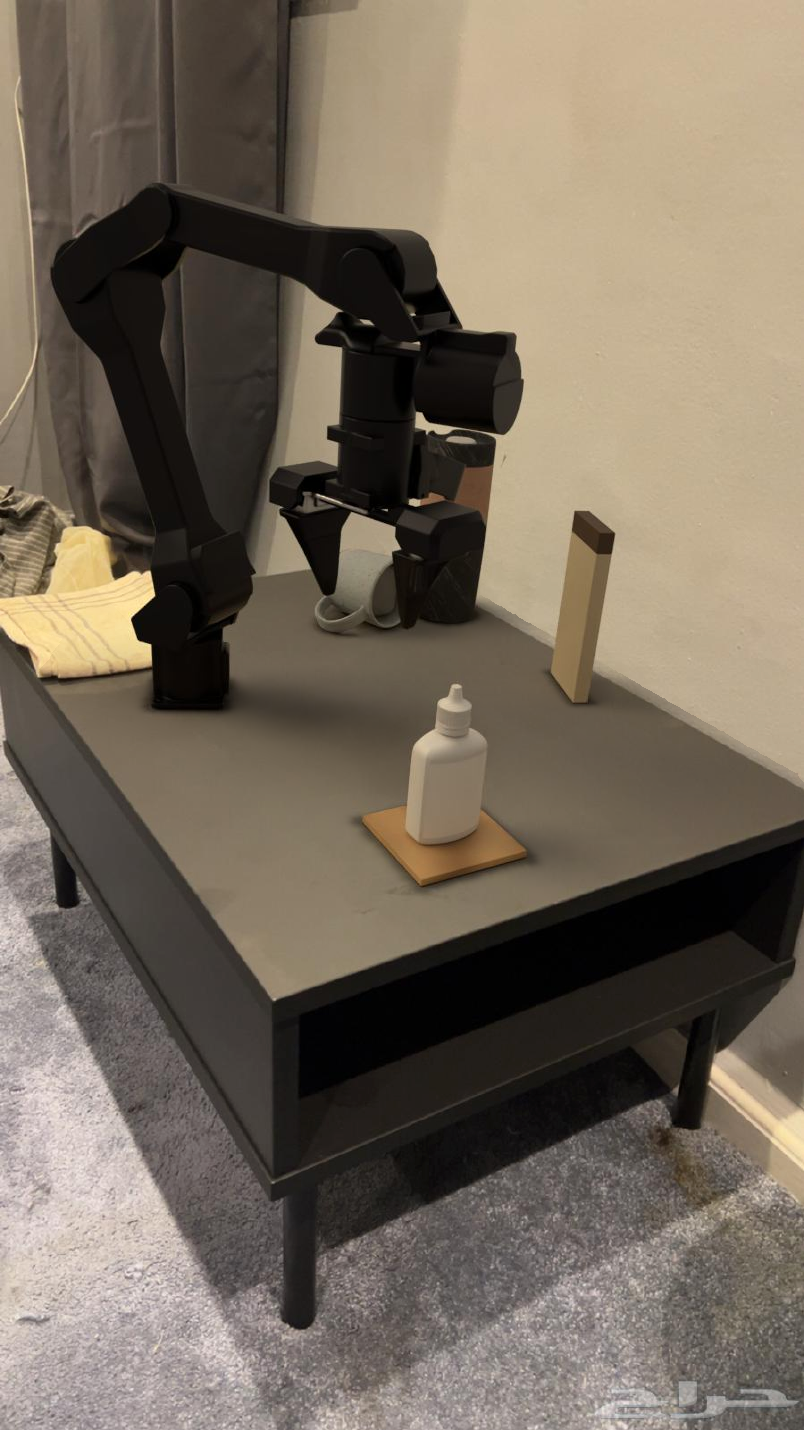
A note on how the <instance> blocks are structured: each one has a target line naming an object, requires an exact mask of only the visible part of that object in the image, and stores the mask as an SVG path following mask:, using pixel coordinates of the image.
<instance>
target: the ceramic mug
mask: <svg viewBox="0 0 804 1430" xmlns="http://www.w3.org/2000/svg"><path fill="white" fill-rule="evenodd" d="M331 606H333V607H334V608H335V609H337V610H338V611H341V612H342V613H345V614H348V615H347V616H344V617H343V618H339V619H333V620H332V619H331V620H329V619H326V618H325V617H324V616H323V615H324V614H325V612H326V611H327V610H328V609H329V608H330V607H331ZM314 615H315V618H316V621H317V623H318V626H319V627H321V629H323V630H325V631H327V632H331V633H342V632H346V631H349V630H352V629H354V628H356V627H358V626H359V625H360V624H362V623H363V622H366V623H368V624H371V625H373V626H375V627H378V628H382V629H390V628H393V627H395V626H397V625H399V624H401V622H400V617H399V612H398V604H397V595H396V586H395V577H394V569H393V560H392V555H388V554H383V553H378V552H375V551H370V550H366V549H363V548H347V549H344V550H340V556H339V569H338V579H337V584H336V590H335V593H334V594H332V595H329V596H325V595H323V597H322V598H320V599H319V601H318V602H317V603H316V605H315V607H314Z"/></svg>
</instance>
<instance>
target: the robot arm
mask: <svg viewBox="0 0 804 1430" xmlns="http://www.w3.org/2000/svg"><path fill="white" fill-rule="evenodd" d="M189 249H193V250H196V251H200V252H203V253H207V254H209V255H213V256H216V257H219V258H223V259H225V260H229V261H233V262H236V263H240V264H243V265H247V266H250V267H253V268H256V269H258V270H259V269H260V270H263V271H266V272H270V273H273V274H277V275H279V276H283V277H286V278H290V279H292V280H294V281H296V282H297V283H299V284H300V285H303V286H304V287H306V288H307V289H308V290H309V291H310V292H311V293H313V294H314V295H315V296H316V297H317V298H318V299H319V300H321V301H323V302H325V303H326V304H328V305H330V306H332V307H334V308H336V309H337V310H339V311H338V312H336V313H335V315H334V317H333V319H332V320H331V321H330V322H329V323H328V324H327V325H326V326H325V327H323V328H322V329H321V330H320V331H318V332H317V333H316V334H315V336H314V342H315V344H317V345H321V346H327V347H332V348H333V347H334V348H339V349H340V348H341V360H340V361H341V363H340V364H341V365H340V368H341V369H340V391H339V412H338V413H339V414H338V418H339V419H338V424H331V425H326V441H327V440H328V441H331V442H334V443H337V464H336V465H334V464H331V463H327V462H325V461H321V460H314V461H307V462H302V463H296V464H290V465H283V466H278V467H277V468H276V469H275V471H274V472H273V474H272V475H271V476H270V478H269V480H268V486H269V487H268V503H270V504H274V505H276V506H278V507H280V508H279V509H278V512H279V516H280V517H282V518H284V519H285V521H286V523H287V524H288V526H289V528H290V530H291V532H292V534H293V536H294V538H295V539H296V541H297V543H298V545H299V547H300V549H301V551H302V553H303V556H304V557H305V560H306V561H307V563H308V565H309V568H310V570H311V572H312V575H313V576H314V579H315V581H316V583H317V586H318V588H319V589H320V592H321V593H322V595H323V596H329V595H332V594H334V593H335V590H336V584H337V579H338V569H339V556H340V552H341V543H342V531H343V527H344V526H345V524H346V522H347V520H348V519H349V517H350V515H351V513H354V514H356V515H359V516H362V517H364V518H368V519H371V520H373V521H377V522H379V523H382V524H385V525H388V526H391V527H394V530H395V531H394V538H395V541H396V542H397V544H398V546H399V548H400V549H396V550H392V551H391V556H392V560H393V569H394V577H395V586H396V595H397V604H398V612H399V617H400V625H401V629H404V630H406V631H407V630H410V629H413V628H415V626H416V625H417V622H418V620H419V617H420V616H419V615H420V613H421V611H422V609H423V607H424V605H425V603H426V600H427V598H428V596H429V594H430V592H431V590H432V588H433V586H434V584H435V582H436V580H437V578H438V577H439V575H440V573H441V572H442V570H443V569H444V567H445V566H446V565H447V564H448V563H449V562H450V561H451V560H452V559H455V558H459V557H462V556H465V555H467V554H468V552H470V551H474V550H477V549H481V548H484V549H485V546H484V545H485V543H486V538H485V535H486V536H487V529H486V520H485V519H484V517H483V516H482V514H481V513H480V511H479V510H476V509H472V508H469V507H466V506H463V505H459V504H456V503H453V502H455V499H456V496H457V493H458V489H459V486H460V483H461V480H462V477H463V474H464V470H465V467H466V464H464V463H461V462H459V461H456V460H453V459H451V458H448V457H446V456H443V455H440V454H438V453H435V452H432V451H429V450H428V436H427V434H428V433H427V430H426V429H422V428H418V427H416V423H417V421H416V420H417V413H421V414H422V416H423V418H424V420H425V422H427V423H428V424H431V425H432V424H433V425H438V426H445V427H451V428H455V429H463V430H471V431H477V432H481V433H486V434H493V435H499V436H505V435H507V433H509V432H510V430H511V429H512V428H513V426H514V424H515V422H516V420H517V417H518V414H519V411H520V408H521V403H522V400H523V395H524V388H525V387H524V385H525V380H524V378H522V364H521V359H520V356H519V353H517V351H516V348H517V347H516V346H517V338H518V337H517V334H516V333H515V332H513V331H505V330H504V331H503V330H496V331H481V330H480V331H479V330H471V329H464V328H463V324H462V322H461V320H460V318H459V317H458V314H457V313H456V311H455V308H454V307H453V305H452V303H451V301H450V299H449V297H448V295H447V293H446V291H445V290H444V288H443V286H442V284H441V282H440V280H439V278H438V266H437V261H436V257H435V254H434V252H433V251H432V249H431V247H430V243H429V240H427V239H426V238H425V236H423V235H421V234H420V233H418V232H416V231H413V230H409V229H401V228H400V229H399V228H384V227H383V228H382V227H381V228H380V227H361V226H360V227H359V226H338V225H337V226H336V225H322V224H319V223H315V222H312V221H308V220H304V219H301V218H297V217H294V216H291V215H286V214H284V213H280V212H276V211H272V210H270V209H266V208H263V207H258V206H254V205H251V204H248V203H244V202H240V201H237V200H234V199H229V198H226V197H223V196H219V195H215V194H212V193H208V192H205V191H202V190H200V189H198V188H197V187H195V185H192V184H190V183H189V184H187V183H168V182H152V183H149V184H147V185H146V186H145V187H142V188H141V189H140V190H138V192H137V193H136V194H135V195H134V196H133V197H132V198H131V199H129V201H128V202H127V203H126V204H124V205H123V206H121V207H119V208H118V209H116V210H114V211H113V212H111V213H109V214H108V215H106V216H105V217H103V218H101V219H99V220H98V221H96V222H94V223H92V224H91V225H89V226H88V227H87V228H86V229H84V230H83V231H82V232H81V234H80V235H78V237H72V238H68V239H66V240H65V241H64V242H62V243H61V244H60V245H59V247H58V249H57V250H56V252H55V255H54V259H53V262H52V264H50V266H49V274H50V275H49V276H50V281H51V286H52V289H53V291H54V294H55V296H56V299H57V302H58V303H59V304H60V307H61V309H62V311H63V313H64V315H65V318H66V320H67V322H68V324H69V325H70V328H71V330H72V331H73V332H74V333H75V335H77V336H78V337H79V339H80V340H81V341H82V342H83V343H84V344H85V345H86V346H87V348H89V349H90V351H91V352H92V353H93V354H94V355H95V356H96V357H97V358H98V360H99V362H100V363H101V366H102V369H103V371H104V375H105V378H106V381H107V384H108V386H109V391H110V394H111V397H112V399H113V402H114V406H115V409H116V412H117V415H118V419H119V421H120V424H121V425H120V426H121V427H122V430H123V434H124V437H125V440H126V443H127V446H128V450H129V452H130V456H131V459H132V461H133V464H134V465H133V466H134V468H135V471H136V474H137V477H138V480H139V484H140V486H141V489H142V490H141V491H142V493H143V496H144V499H145V503H146V505H147V509H148V511H149V515H150V518H151V522H152V524H153V527H154V534H155V535H154V542H153V547H152V555H151V560H150V567H149V570H150V571H149V572H150V576H151V581H152V587H153V592H154V596H153V597H152V598H151V599H150V600H149V601H148V602H147V603H145V604H144V605H143V606H142V607H141V608H140V609H139V610H138V611H137V612H135V614H133V616H131V617H130V622H131V626H132V628H133V632H134V635H135V637H136V640H137V641H138V642H140V643H144V644H148V645H150V653H151V680H152V690H151V695H150V701H149V703H150V707H151V708H154V709H157V708H158V709H161V708H162V709H221V708H224V707H225V706H224V705H225V695H228V694H229V693H230V687H231V686H230V684H231V655H230V654H231V650H230V648H231V644H230V643H229V642H228V641H224V628H226V627H228V626H232V625H234V624H236V622H237V618H238V617H239V613H240V611H242V610H243V609H244V608H245V607H246V606H247V605H248V603H249V600H250V598H251V596H252V595H253V593H254V583H253V578H252V576H254V575H256V574H257V571H256V569H255V568H254V566H253V564H252V563H251V561H250V558H249V556H248V552H247V545H246V538H245V536H244V534H243V533H242V531H241V530H239V529H237V530H235V531H232V532H227V530H225V528H224V527H223V526H222V525H221V524H220V523H219V522H218V521H217V520H216V519H215V518H214V517H213V515H212V512H211V510H210V506H209V503H208V500H207V496H206V493H205V490H204V486H203V483H202V480H201V477H200V474H199V470H198V468H197V464H196V460H195V457H194V454H193V451H192V447H191V443H190V441H189V437H188V434H187V431H186V427H185V425H184V421H183V418H182V415H181V410H180V409H179V404H178V401H177V398H176V396H175V391H174V388H173V385H172V382H171V379H170V374H169V372H168V369H167V365H166V361H165V359H164V355H163V352H162V346H161V341H162V335H163V330H164V323H165V317H166V312H167V306H166V300H165V299H166V298H165V294H164V287H163V283H164V282H166V281H167V280H168V279H169V278H170V277H171V276H172V275H174V273H175V272H176V271H178V270H179V269H180V268H181V265H182V264H183V262H184V260H185V257H186V256H187V255H188V252H189ZM412 314H414V315H412ZM363 321H369V322H370V323H371V324H369V323H365V322H363ZM418 343H419V344H418ZM429 493H434V494H437V495H441V496H443V497H444V499H445V500H443V501H439V502H434V503H430V504H425V505H421V506H420V505H412V504H410V501H411V500H417V501H420V500H421V499H425V498H429ZM447 500H448V501H447ZM450 501H452V502H450Z"/></svg>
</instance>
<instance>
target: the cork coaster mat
mask: <svg viewBox="0 0 804 1430" xmlns="http://www.w3.org/2000/svg"><path fill="white" fill-rule="evenodd" d="M406 813H407V804H405V805H401V806H397V807H393V808H389V809H385V810H380V811H377V812H371V813H368V814H367V813H366V814H363V815H362V823H363V824H364V826H365V827H367V829H368V830H369V831H370V832H371V833H372V834H373V835H374V836H375V838H377V840H378V841H379V842H380V843H381V844H382V845H383V847H385V848H386V849H387V851H388V852H389V853H390V854H391V855H392V856H393V858H395V859H396V860H397V861H398V863H399V864H400V865H401V866H402V867H403V868H404V869H405V870H406V871H407V872H408V874H409V875H410V876H411V877H412V879H414V880H415V882H417V884H418V885H419V886H420V887H425V886H427V885H430V884H434V883H435V884H436V883H438V882H441V881H445V880H449V879H452V878H456V877H459V876H464V875H467V874H469V873H473V872H477V871H481V870H484V869H489V868H491V867H495V866H498V865H502V864H507V863H509V862H513V861H516V860H521V859H524V858H527V853H528V850H527V849H526V848H525V847H524V846H523V845H522V844H520V843H519V842H518V840H516V838H514V837H513V836H511V834H509V833H508V832H507V831H506V830H505V829H504V828H503V827H501V825H499V824H498V823H497V822H496V821H495V820H494V819H493V818H492V817H491V816H489V814H488V813H487V812H485V811H484V810H483V809H482V808H481V810H480V818H479V824H478V827H477V828H476V830H474V831H473V832H472V833H471V834H469V835H467V836H465V837H463V838H461V839H459V840H456V841H453V842H448V843H443V844H433V845H424V844H420V843H418V842H417V841H416V840H414V839H413V838H412V837H411V836H410V835H409V834H408V833H407V831H406V828H405V825H406Z"/></svg>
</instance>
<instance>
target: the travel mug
mask: <svg viewBox="0 0 804 1430" xmlns="http://www.w3.org/2000/svg"><path fill="white" fill-rule="evenodd" d="M426 434H427V436H428V450H429V451H432V452H435V453H438V454H440V455H443V456H446V457H448V458H451V459H453V460H456V461H459V462H461V463H464V464H466V467H465V470H464V474H463V477H462V480H461V483H460V486H459V489H458V493H457V496H456V499H455V502H453V503H456V504H459V505H463V506H466V507H469V508H472V509H476V510H479V511H480V513H481V514H482V516H483V517H484V519H485V520H486V530H487V528H488V519H489V512H490V511H489V509H490V501H491V493H492V484H493V474H494V467H495V458H496V448H497V439H496V438H495V437H494V436H493V435H490V434H489V433H486V432H480V431H474V430H468V429H462V428H455V429H454V428H453V429H452V430H450V431H449V432H447V433H436V431H435V430H434V429H433V430H429V431H428V432H427V433H426ZM443 500H445V499H444V497H443V496H441V495H437V494H434V493H429V498H425V499H421V500H419V506H421V505H425V504H430V503H434V502H439V501H443ZM447 501H448V500H447ZM450 502H452V501H450ZM486 536H487V534H486V535H485V539H486ZM484 551H485V545H484V548H481V549H477V550H474V551H470V552H468V554H467V555H465V556H462V557H459V558H455V559H452V560H451V561H450V562H449V563H448V564H447V565H446V566H445V567H444V569H443V570H442V572H441V573H440V575H439V577H438V578H437V580H436V582H435V584H434V586H433V588H432V590H431V592H430V594H429V596H428V598H427V600H426V603H425V605H424V607H423V609H422V611H421V613H420V615H419V617H420V618H422V619H424V620H429V621H430V622H431V621H432V622H437V623H445V624H446V623H447V624H454V623H456V624H457V623H462V622H466V621H469V620H471V619H472V618H473V617H474V614H475V608H476V602H477V596H478V590H479V583H480V578H481V571H482V565H483V557H484Z"/></svg>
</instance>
